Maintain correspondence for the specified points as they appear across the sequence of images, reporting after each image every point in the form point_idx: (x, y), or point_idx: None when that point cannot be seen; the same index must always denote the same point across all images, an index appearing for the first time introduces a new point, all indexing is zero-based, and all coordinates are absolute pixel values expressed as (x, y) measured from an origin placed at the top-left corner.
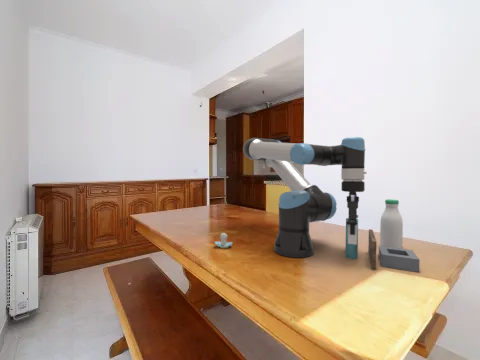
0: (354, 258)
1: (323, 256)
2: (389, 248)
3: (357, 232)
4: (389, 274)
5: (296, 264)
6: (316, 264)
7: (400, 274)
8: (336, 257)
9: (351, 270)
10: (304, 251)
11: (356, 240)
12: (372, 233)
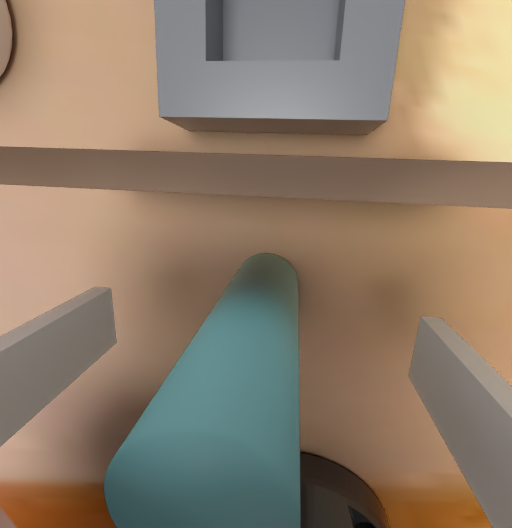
0: (294, 271)
1: (312, 409)
2: (191, 36)
3: (267, 327)
4: (490, 105)
5: (471, 513)
6: (444, 441)
7: (472, 37)
8: (302, 354)
9: (482, 298)
10: (374, 517)
11: (458, 338)
12: (177, 165)
